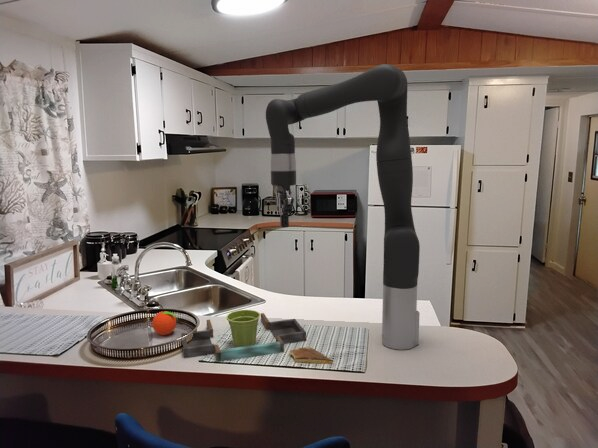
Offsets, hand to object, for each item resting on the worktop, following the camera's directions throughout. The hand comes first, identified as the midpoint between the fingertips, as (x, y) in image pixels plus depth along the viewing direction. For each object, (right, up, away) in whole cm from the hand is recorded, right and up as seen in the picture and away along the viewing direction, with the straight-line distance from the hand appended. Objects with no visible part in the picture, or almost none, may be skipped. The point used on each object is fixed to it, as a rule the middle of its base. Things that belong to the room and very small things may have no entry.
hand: (284, 226), depth 139 cm
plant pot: (-11, -33, -10) cm, 36 cm away
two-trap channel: (-12, -32, -6) cm, 35 cm away
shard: (+8, -35, -17) cm, 40 cm away
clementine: (-35, -32, -2) cm, 48 cm away
